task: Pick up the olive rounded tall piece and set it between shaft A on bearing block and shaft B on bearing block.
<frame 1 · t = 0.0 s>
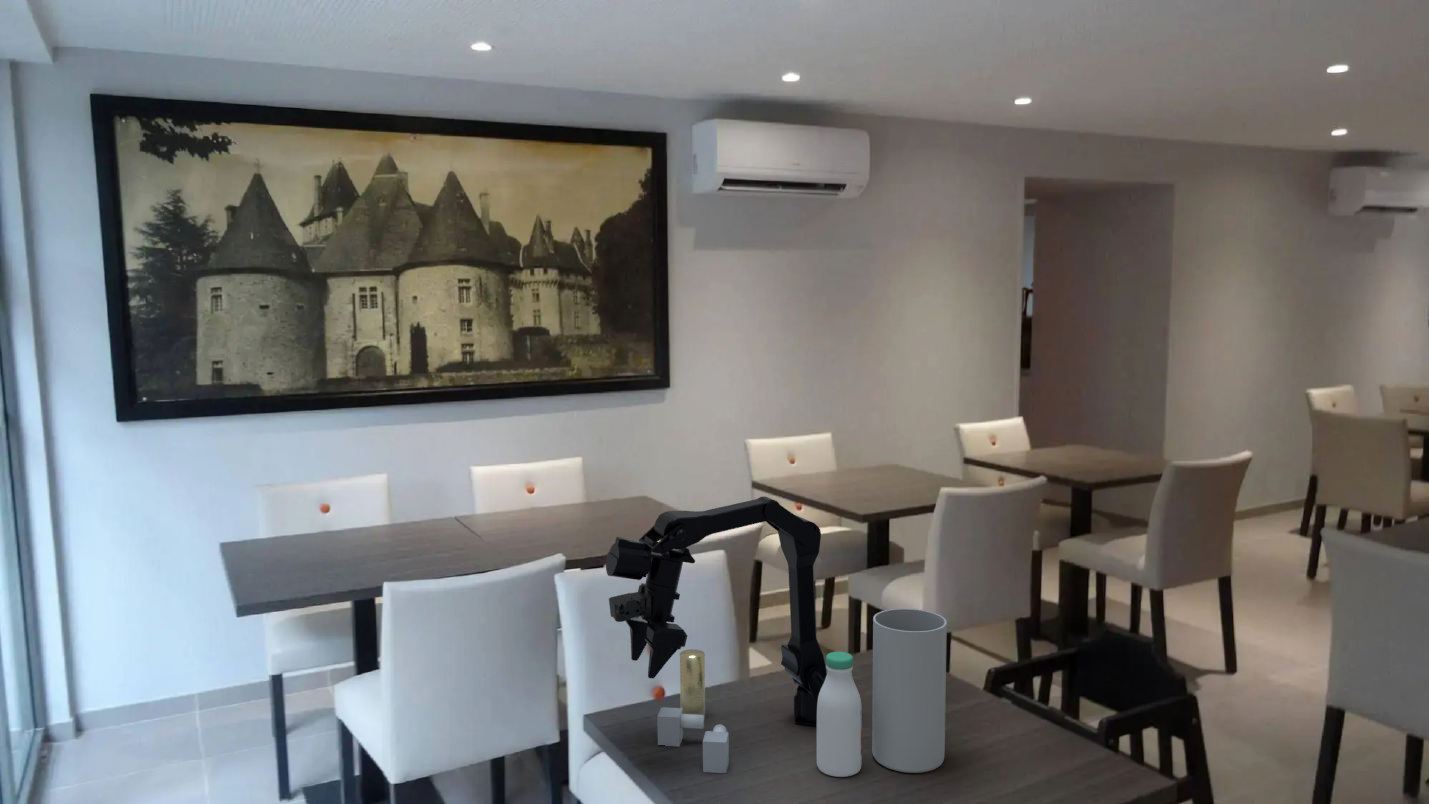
hand: (642, 668, 172), 15 cm above the table, tool pointing down, fingers open, 9 cm apart
olive rounded tall piece: (692, 715, 189), on the table
milk bottle: (838, 768, 168), on the table
shaft A on bearing block: (716, 767, 168), on the table
shaft B on bearing block: (670, 741, 178), on the table
cylinder vase: (907, 758, 171), on the table
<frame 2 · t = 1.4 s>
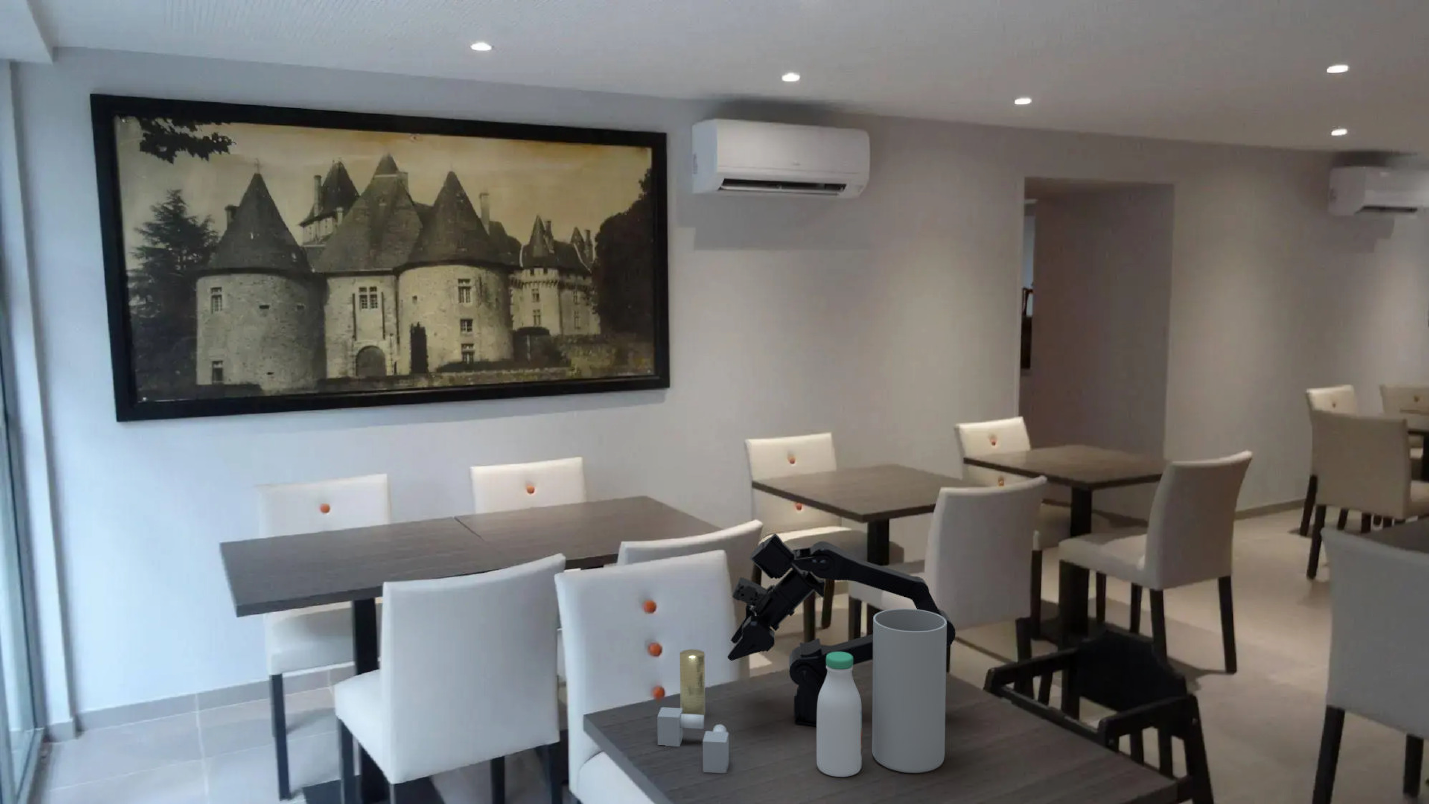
hand: (730, 650, 187), 13 cm above the table, tool tilted 45°, fingers open, 9 cm apart
nothing on the table moved.
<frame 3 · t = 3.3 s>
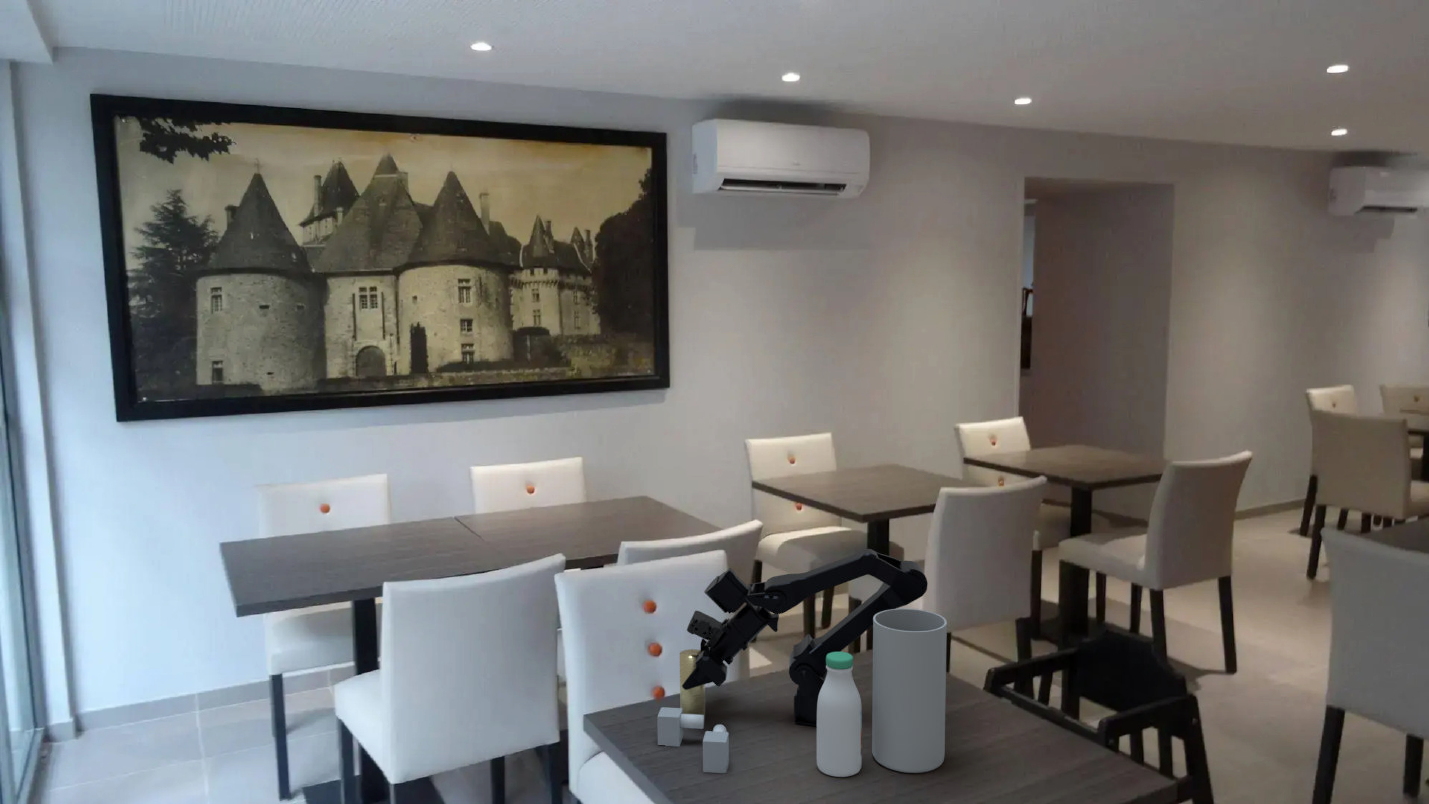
hand: (685, 682, 189), 7 cm above the table, tool tilted 45°, fingers closed on olive rounded tall piece, 5 cm apart
olive rounded tall piece: (692, 715, 189), on the table, touching gripper
everything else where it was.
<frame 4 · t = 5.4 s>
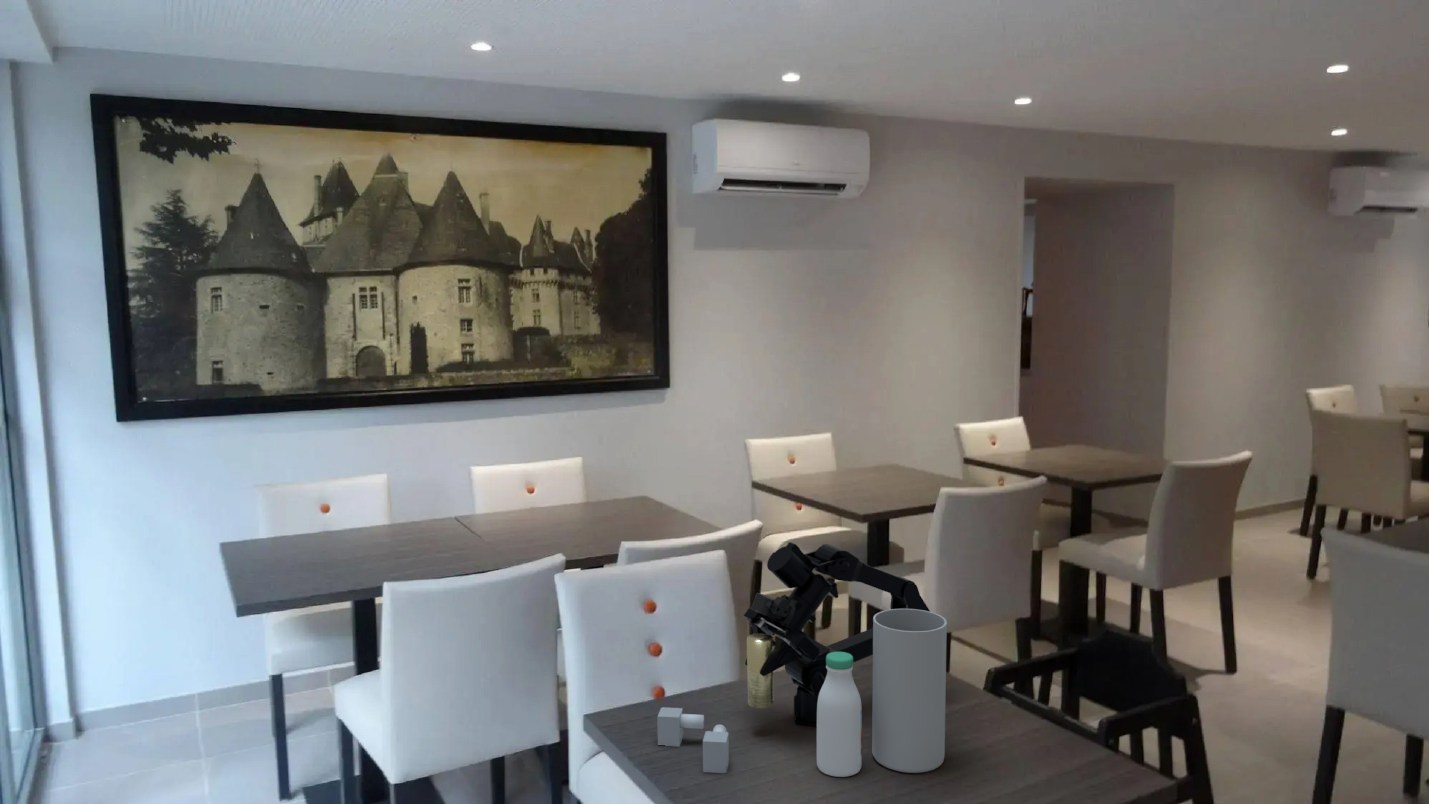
hand: (754, 670, 180), 12 cm above the table, tool tilted 45°, fingers closed on olive rounded tall piece, 5 cm apart
olive rounded tall piece: (760, 702, 181), point 6 cm above the table, touching gripper
everything else where it was.
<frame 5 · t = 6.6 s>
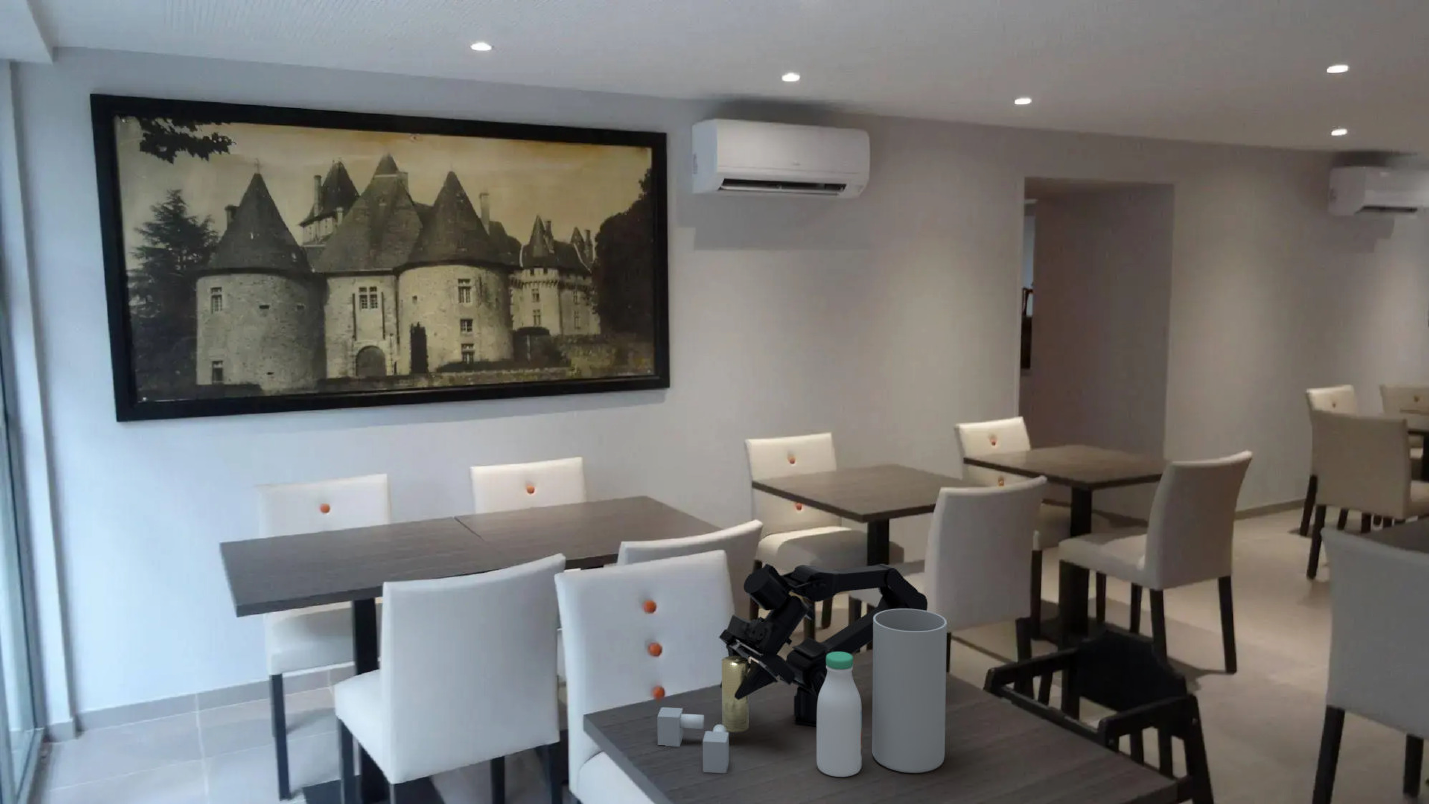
hand: (728, 693, 177), 9 cm above the table, tool tilted 45°, fingers closed on olive rounded tall piece, 5 cm apart
olive rounded tall piece: (735, 726, 178), point 3 cm above the table, touching gripper
everything else where it was.
when the fingers open (7 cm above the table, at t = 7.6 s): olive rounded tall piece stays where it is, on the table.
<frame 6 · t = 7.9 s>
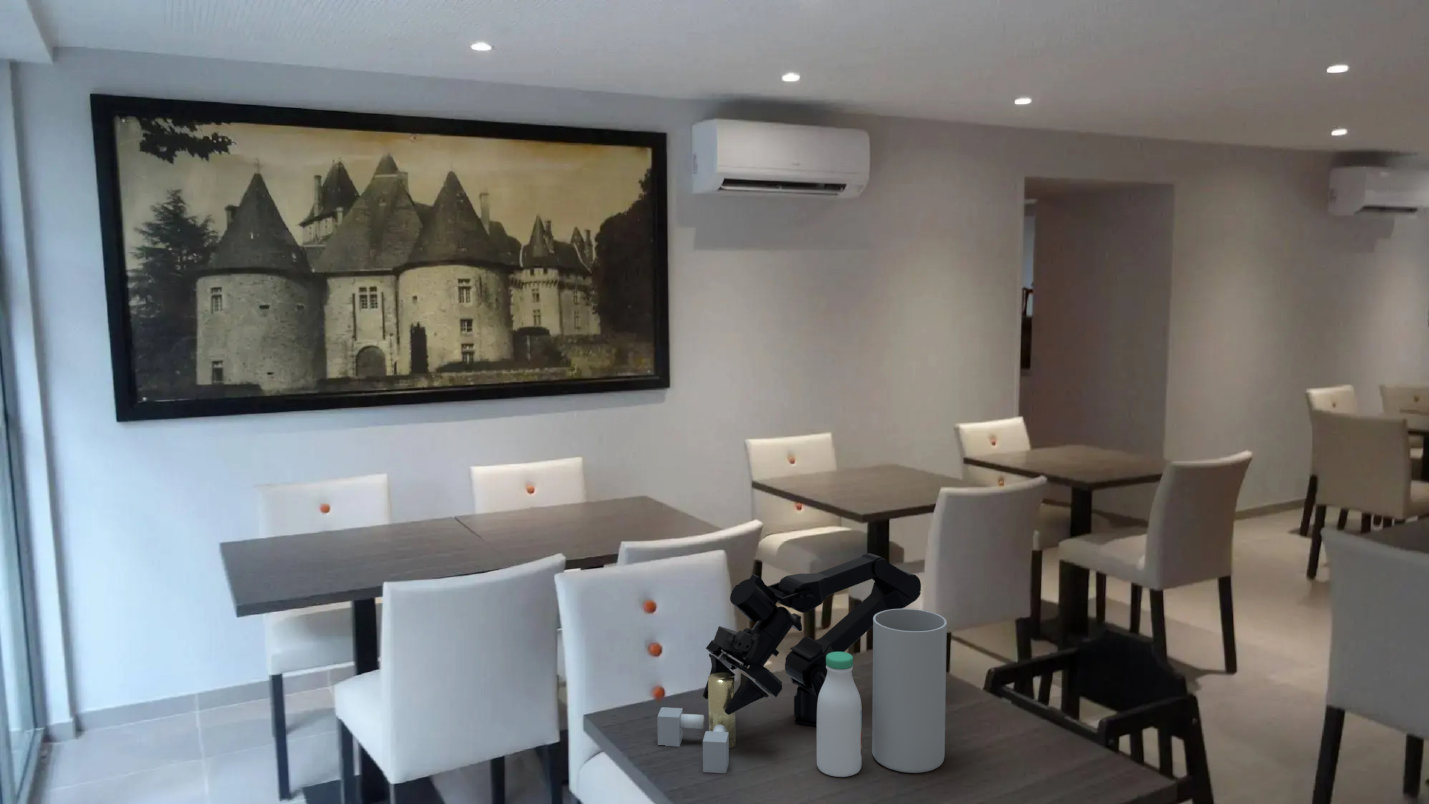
hand: (715, 705, 176), 8 cm above the table, tool tilted 45°, fingers open, 8 cm apart
olive rounded tall piece: (722, 743, 177), on the table
everything else where it was.
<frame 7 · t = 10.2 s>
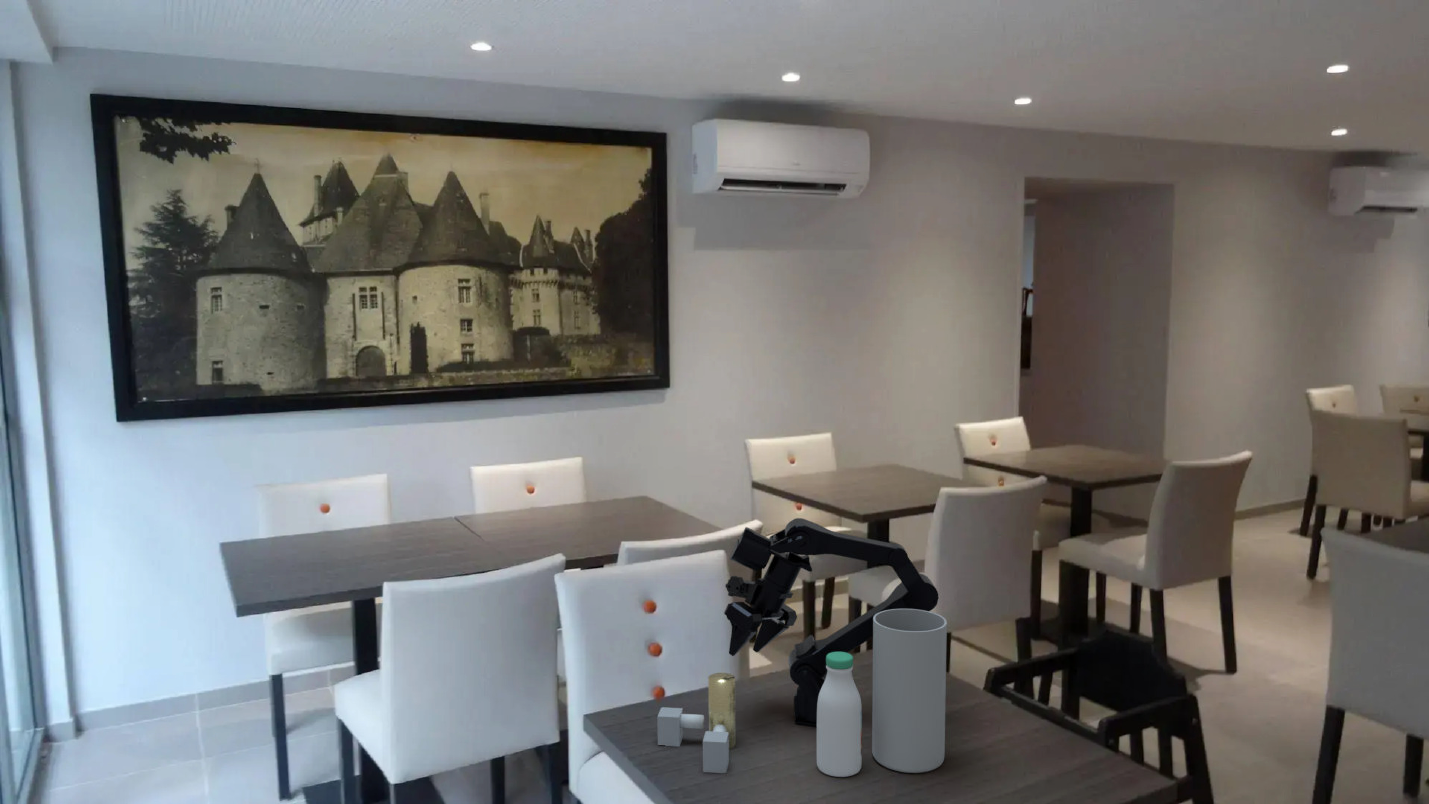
hand: (743, 652, 187), 13 cm above the table, tool tilted 25°, fingers open, 9 cm apart
nothing on the table moved.
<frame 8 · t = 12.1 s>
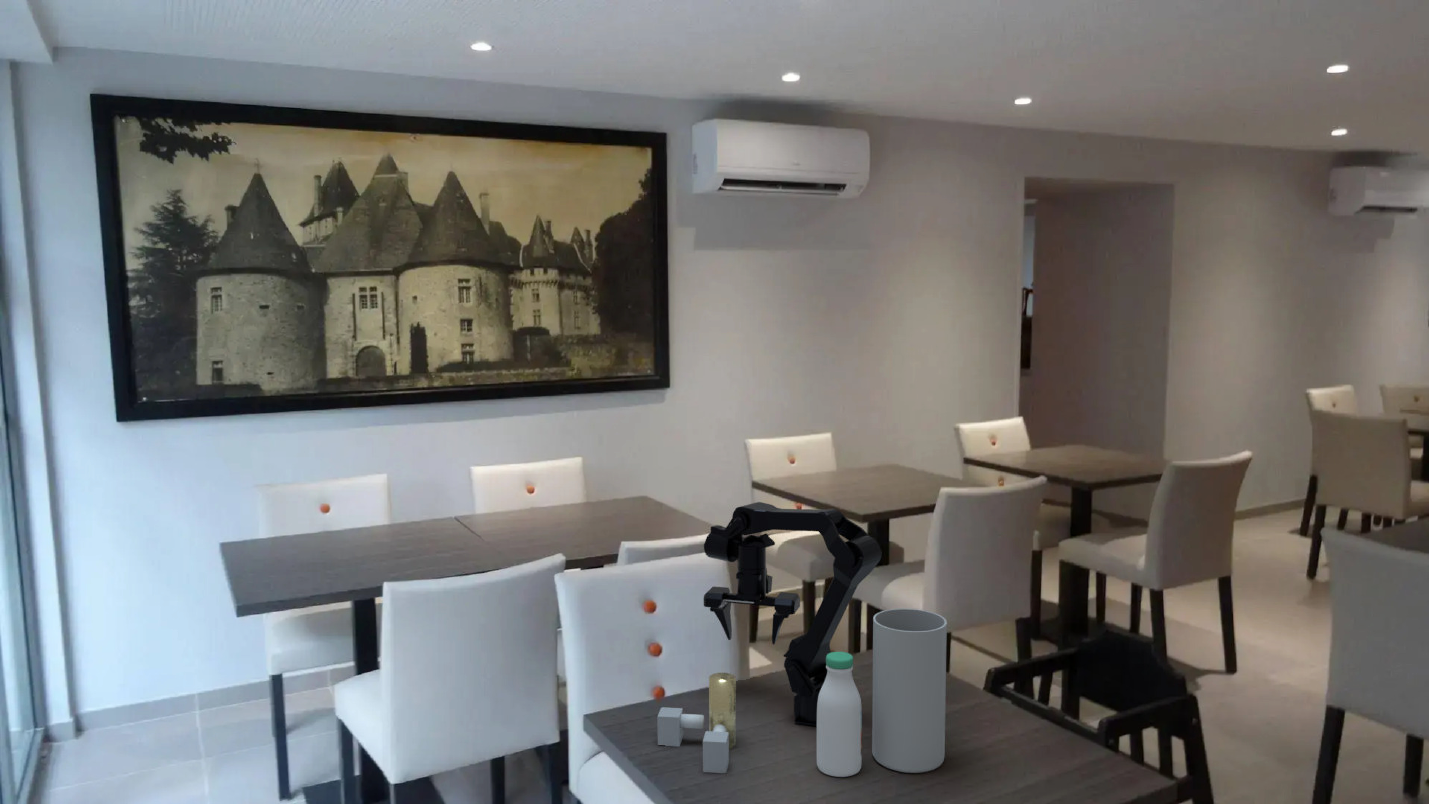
hand: (751, 641, 196), 12 cm above the table, tool pointing down, fingers open, 9 cm apart
nothing on the table moved.
at the end: olive rounded tall piece 0.0 cm from the target spot, on the table; olive rounded tall piece tilted 0°; the gripper is holding nothing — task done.
